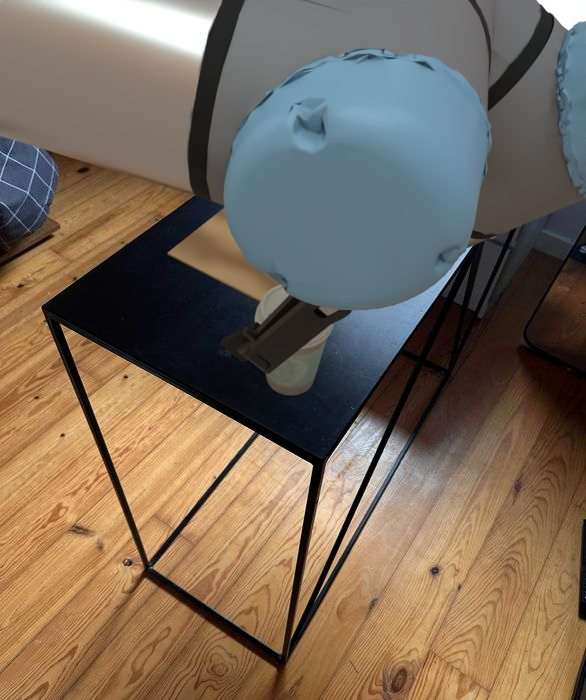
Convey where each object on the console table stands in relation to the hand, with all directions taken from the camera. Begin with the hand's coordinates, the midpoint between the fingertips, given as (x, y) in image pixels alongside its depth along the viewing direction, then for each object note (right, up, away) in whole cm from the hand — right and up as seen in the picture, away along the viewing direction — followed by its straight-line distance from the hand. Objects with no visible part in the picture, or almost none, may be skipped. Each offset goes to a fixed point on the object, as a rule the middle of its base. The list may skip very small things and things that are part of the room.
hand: (266, 294), depth 58 cm
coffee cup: (+2, -9, +16) cm, 18 cm away
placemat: (-2, +11, +32) cm, 34 cm away
